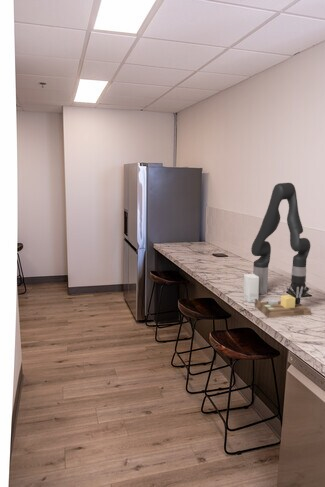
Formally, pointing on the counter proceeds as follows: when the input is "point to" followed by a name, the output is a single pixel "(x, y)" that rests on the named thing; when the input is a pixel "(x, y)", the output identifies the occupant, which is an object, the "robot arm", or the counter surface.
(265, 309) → the box
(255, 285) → the skincare box
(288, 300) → the mustard block
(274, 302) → the grey block
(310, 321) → the counter surface
